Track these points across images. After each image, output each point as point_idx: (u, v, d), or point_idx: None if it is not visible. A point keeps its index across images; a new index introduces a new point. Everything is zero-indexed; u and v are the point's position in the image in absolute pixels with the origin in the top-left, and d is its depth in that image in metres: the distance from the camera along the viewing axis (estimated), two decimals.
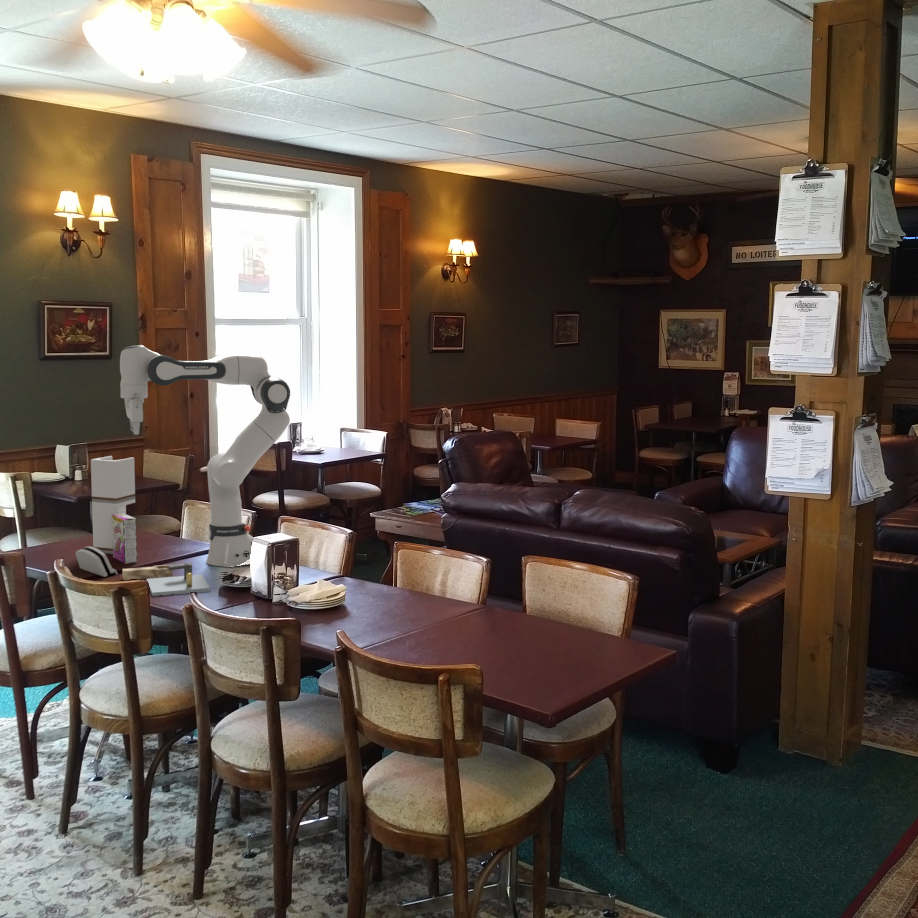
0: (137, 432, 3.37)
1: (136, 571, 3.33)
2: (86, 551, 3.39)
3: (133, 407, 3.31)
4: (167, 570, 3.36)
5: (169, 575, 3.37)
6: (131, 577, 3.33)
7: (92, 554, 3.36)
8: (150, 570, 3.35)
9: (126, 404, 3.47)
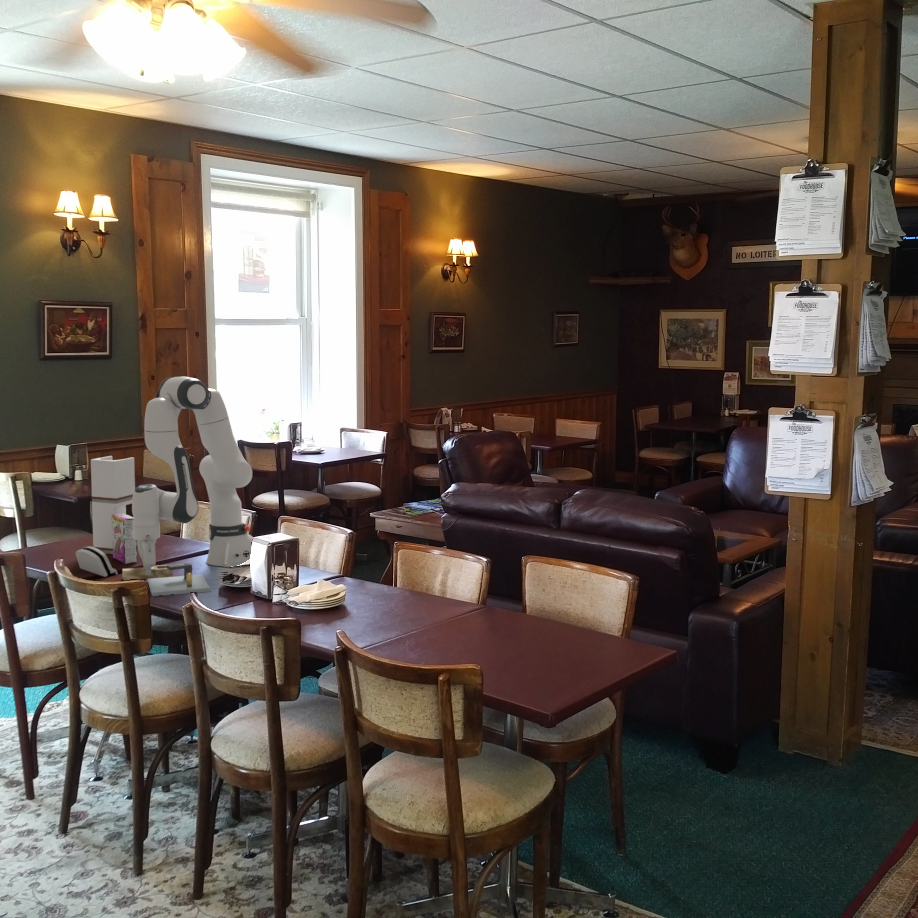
0: (149, 572, 3.34)
1: (136, 571, 3.33)
2: (86, 551, 3.39)
3: (146, 551, 3.26)
4: (167, 570, 3.36)
5: (169, 575, 3.37)
6: (131, 577, 3.33)
7: (92, 554, 3.36)
8: None
9: None
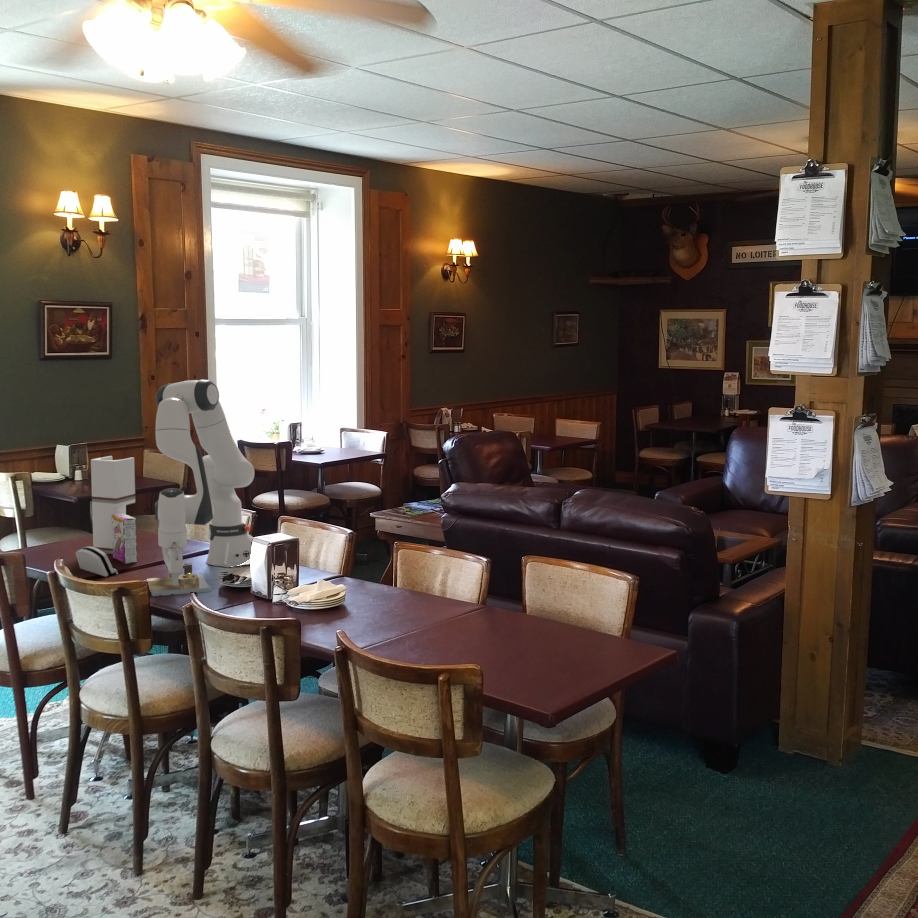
0: (176, 583, 3.15)
1: (161, 581, 3.17)
2: (86, 551, 3.39)
3: (173, 559, 3.09)
4: (193, 580, 3.20)
5: (196, 585, 3.20)
6: (156, 587, 3.16)
7: (93, 554, 3.37)
8: None
9: None
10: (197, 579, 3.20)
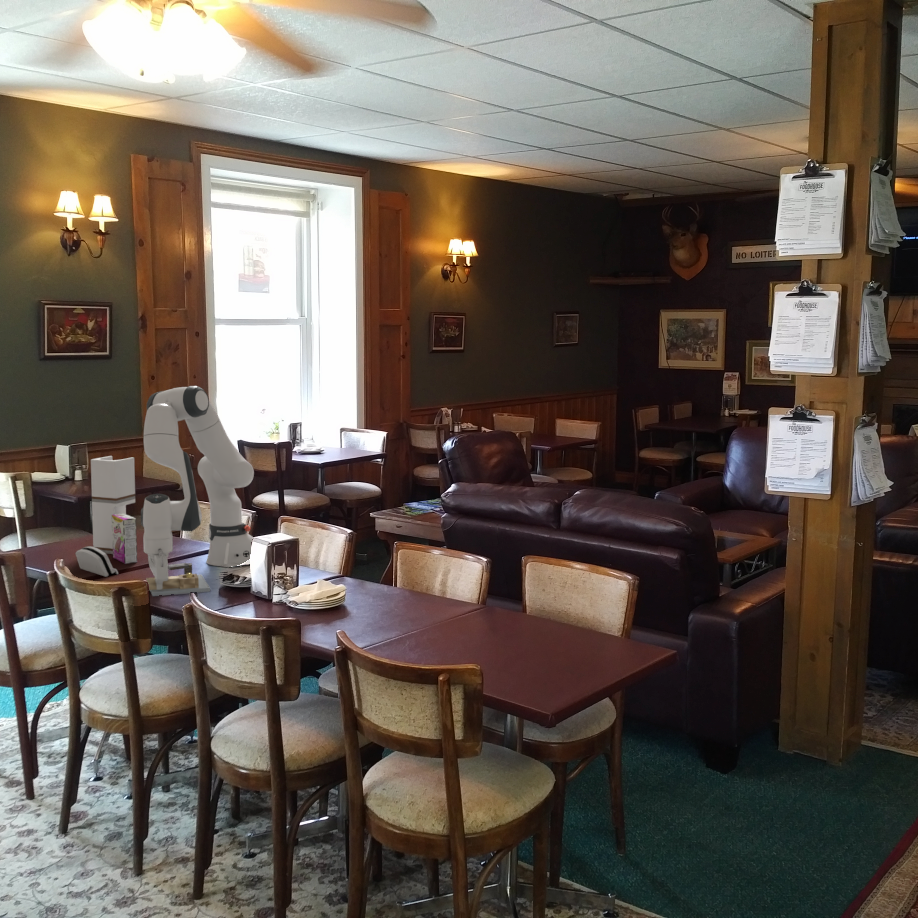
0: (160, 587, 3.14)
1: None
2: (87, 551, 3.39)
3: (158, 566, 3.05)
4: (193, 580, 3.20)
5: (195, 585, 3.20)
6: (155, 587, 3.17)
7: (93, 554, 3.37)
8: (175, 579, 3.19)
9: None
10: (196, 579, 3.20)
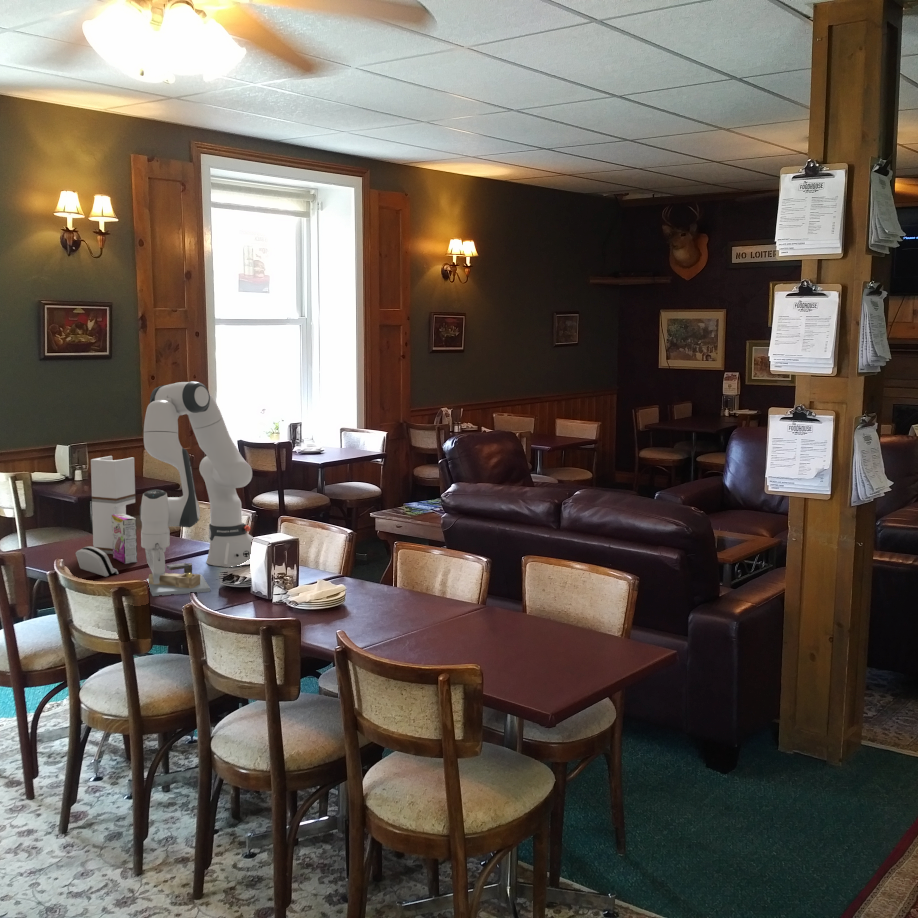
0: (157, 581, 3.20)
1: (160, 576, 3.23)
2: (87, 551, 3.39)
3: (155, 560, 3.11)
4: (187, 580, 3.20)
5: (189, 585, 3.20)
6: None
7: (93, 554, 3.37)
8: (173, 577, 3.22)
9: None
10: (190, 579, 3.19)
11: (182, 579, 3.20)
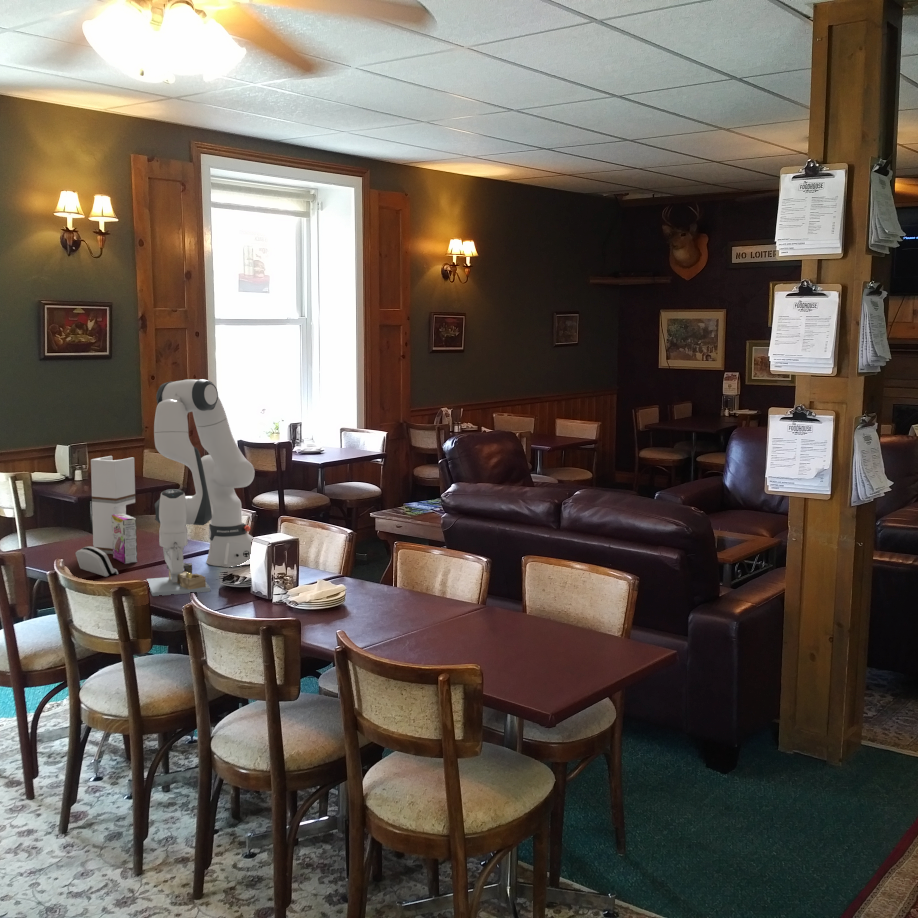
0: (175, 580, 3.23)
1: None
2: (87, 551, 3.39)
3: (173, 559, 3.14)
4: (186, 580, 3.19)
5: (187, 586, 3.19)
6: None
7: (93, 554, 3.37)
8: (182, 576, 3.24)
9: None
10: (188, 580, 3.18)
11: (184, 579, 3.20)
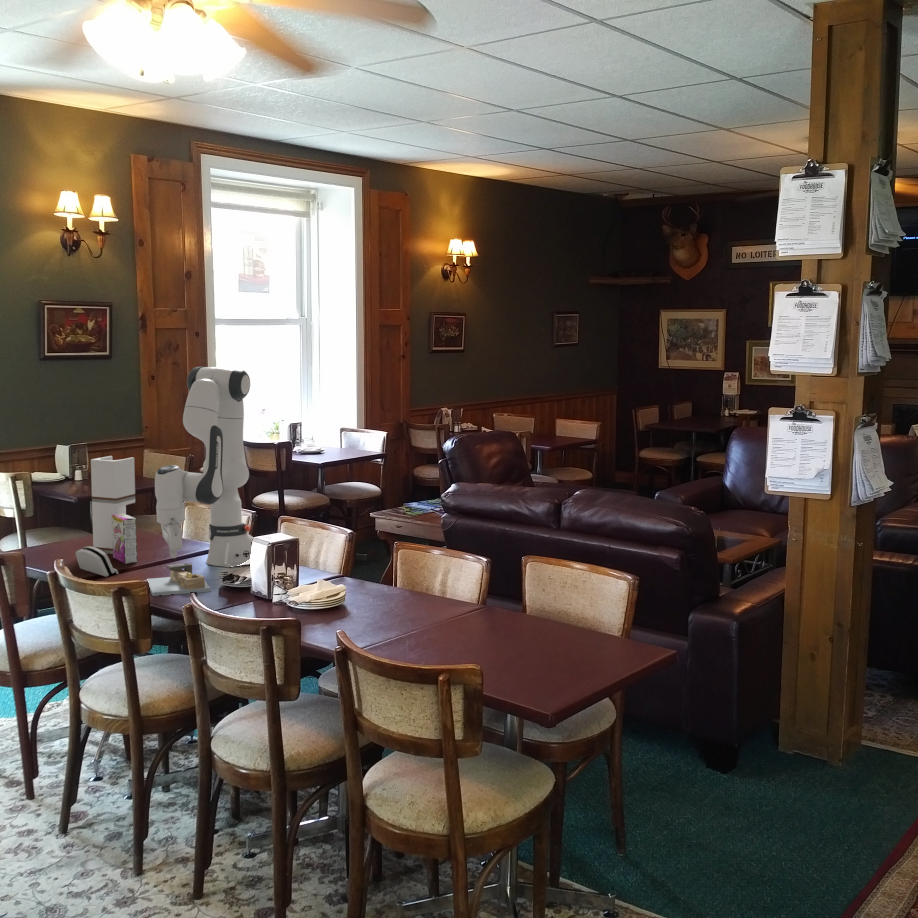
0: (175, 555, 3.23)
1: (175, 573, 3.27)
2: (87, 551, 3.39)
3: (172, 535, 3.14)
4: (185, 580, 3.19)
5: (186, 586, 3.18)
6: (173, 578, 3.28)
7: (93, 554, 3.37)
8: (182, 576, 3.24)
9: None
10: (187, 581, 3.18)
11: (183, 579, 3.20)
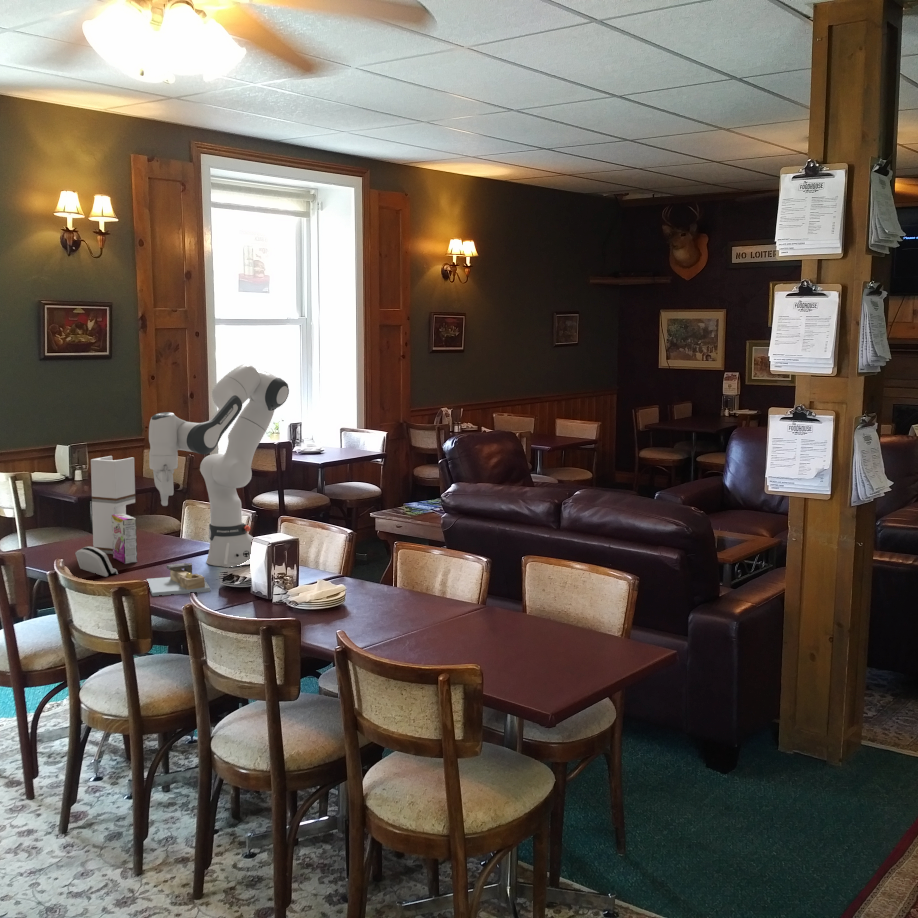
0: (165, 503, 3.21)
1: (175, 573, 3.27)
2: (86, 551, 3.39)
3: (163, 480, 3.12)
4: (185, 580, 3.19)
5: (186, 586, 3.18)
6: (173, 578, 3.28)
7: (93, 554, 3.37)
8: (182, 576, 3.24)
9: (155, 474, 3.28)
10: (187, 581, 3.18)
11: (183, 579, 3.20)
